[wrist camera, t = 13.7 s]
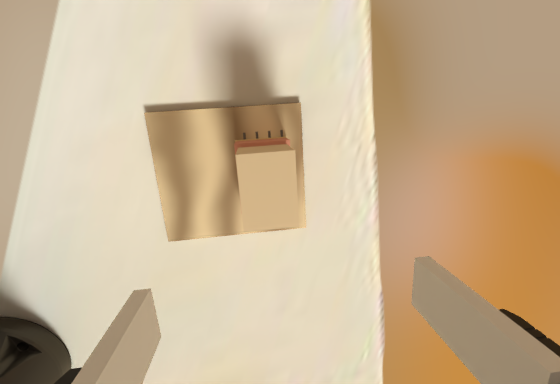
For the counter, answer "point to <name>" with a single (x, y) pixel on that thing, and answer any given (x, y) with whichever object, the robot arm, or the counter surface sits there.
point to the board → (214, 164)
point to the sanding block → (267, 183)
